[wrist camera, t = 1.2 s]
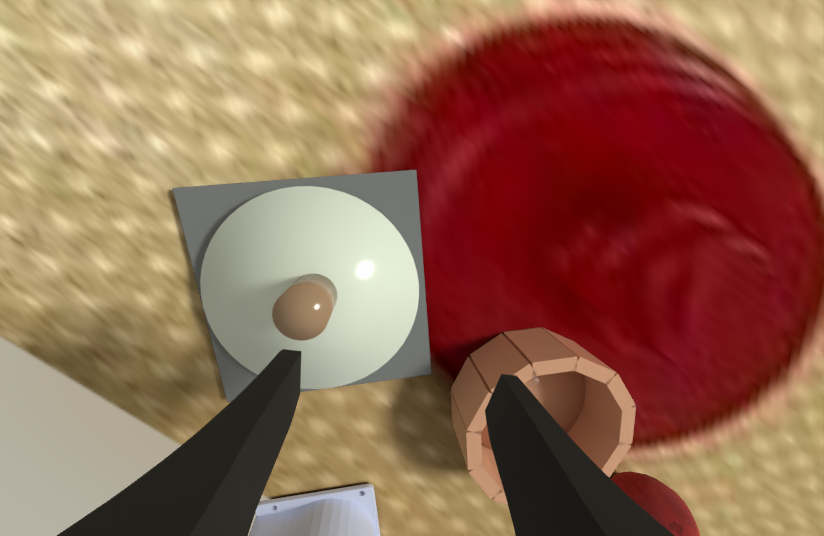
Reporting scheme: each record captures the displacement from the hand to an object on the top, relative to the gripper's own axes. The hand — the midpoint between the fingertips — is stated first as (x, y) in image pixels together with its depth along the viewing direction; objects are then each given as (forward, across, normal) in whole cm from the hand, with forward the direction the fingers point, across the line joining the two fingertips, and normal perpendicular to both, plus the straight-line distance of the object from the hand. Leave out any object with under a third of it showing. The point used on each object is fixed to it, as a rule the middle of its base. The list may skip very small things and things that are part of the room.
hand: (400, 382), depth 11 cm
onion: (+8, -23, +17) cm, 30 cm away
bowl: (+9, -12, +10) cm, 18 cm away
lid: (+10, +5, +3) cm, 12 cm away
